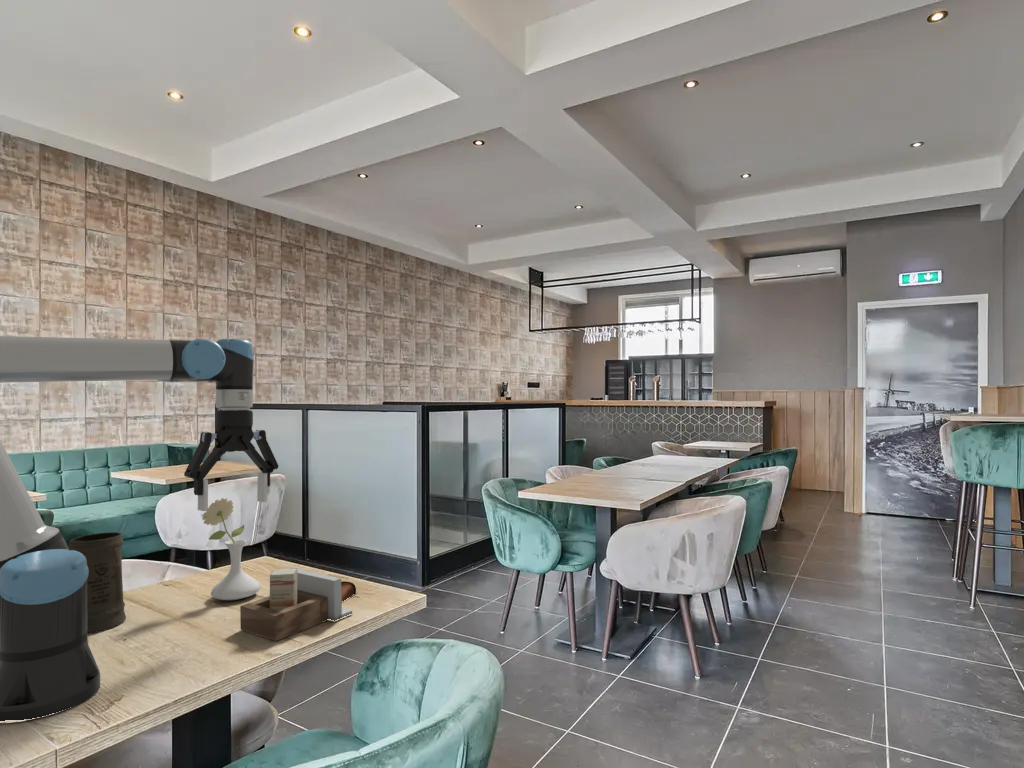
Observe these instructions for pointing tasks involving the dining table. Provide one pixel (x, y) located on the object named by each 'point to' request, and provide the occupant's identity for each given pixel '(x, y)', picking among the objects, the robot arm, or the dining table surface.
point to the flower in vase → (236, 580)
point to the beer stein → (102, 579)
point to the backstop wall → (324, 591)
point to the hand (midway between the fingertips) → (233, 506)
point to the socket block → (283, 616)
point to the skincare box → (283, 588)
